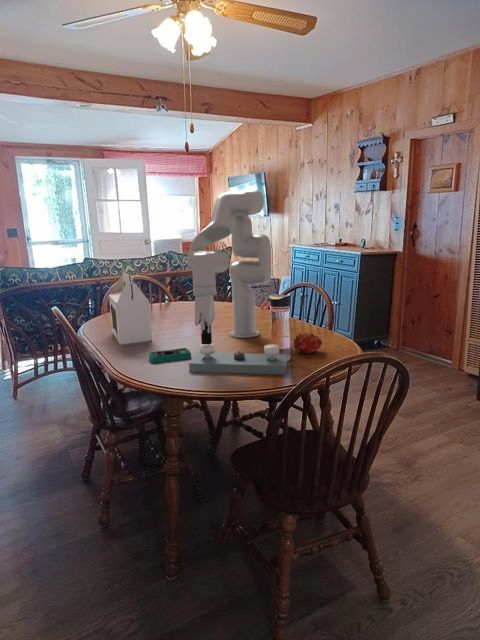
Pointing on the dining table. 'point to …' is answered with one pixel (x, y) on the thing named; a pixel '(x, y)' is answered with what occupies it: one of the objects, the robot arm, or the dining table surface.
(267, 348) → the knob
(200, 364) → the mount board
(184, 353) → the digital multimeter
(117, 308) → the gable box
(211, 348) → the knob
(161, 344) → the dining table surface
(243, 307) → the robot arm
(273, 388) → the dining table surface
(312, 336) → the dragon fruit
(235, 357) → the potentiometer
